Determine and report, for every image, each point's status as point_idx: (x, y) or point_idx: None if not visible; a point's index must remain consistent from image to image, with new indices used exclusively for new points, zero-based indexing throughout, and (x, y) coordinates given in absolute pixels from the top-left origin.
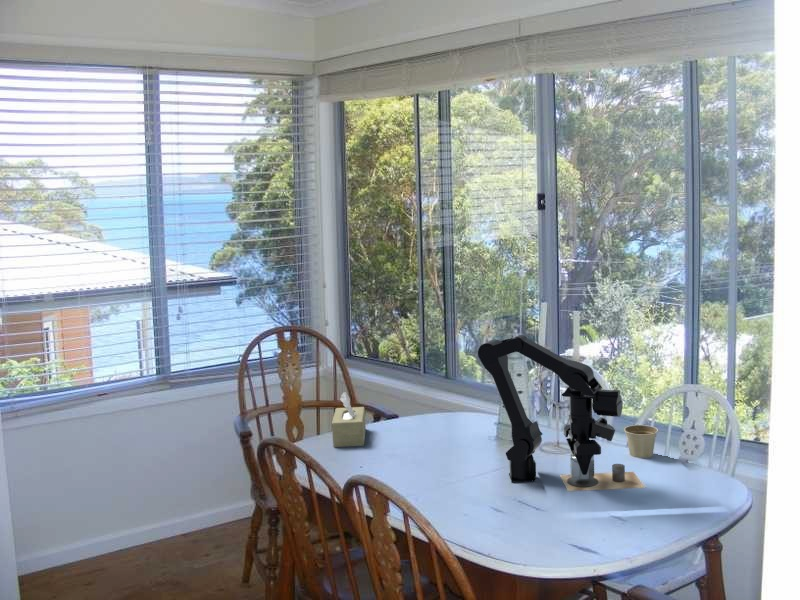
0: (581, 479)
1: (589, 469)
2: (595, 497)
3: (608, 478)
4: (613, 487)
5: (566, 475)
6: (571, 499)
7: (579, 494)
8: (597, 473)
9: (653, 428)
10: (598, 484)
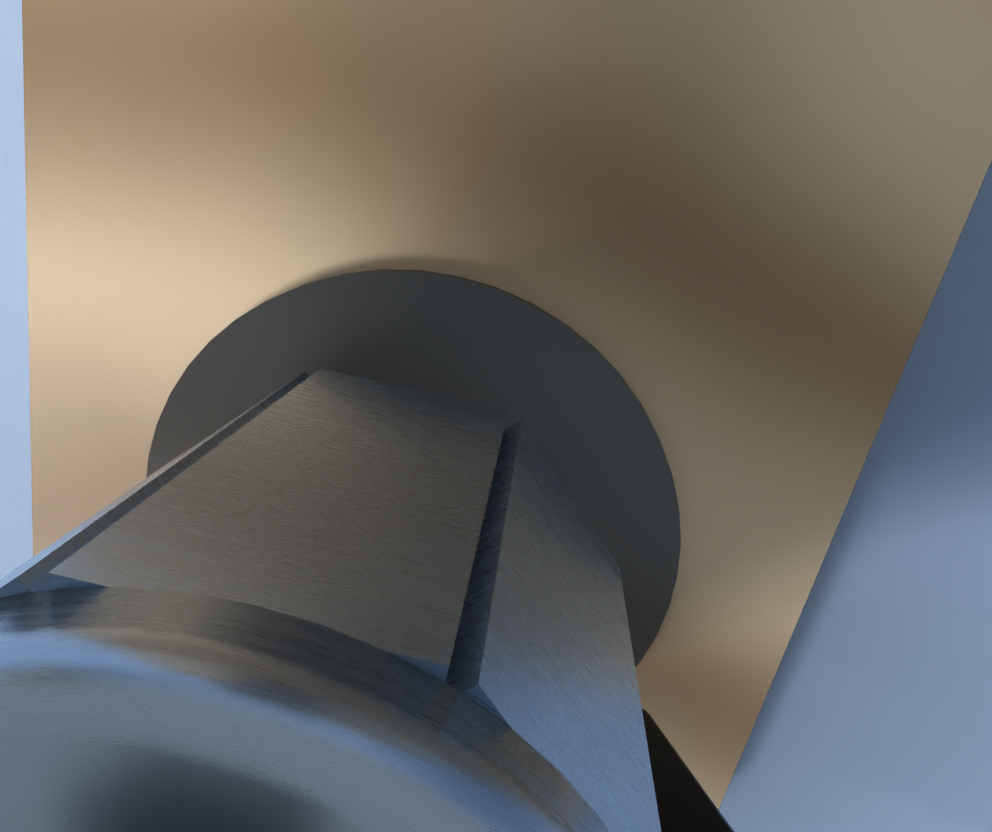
0: None
1: (639, 715)
2: (934, 527)
3: None
4: (919, 124)
5: None
6: (832, 820)
7: None
8: (35, 83)
9: None
10: (624, 340)
